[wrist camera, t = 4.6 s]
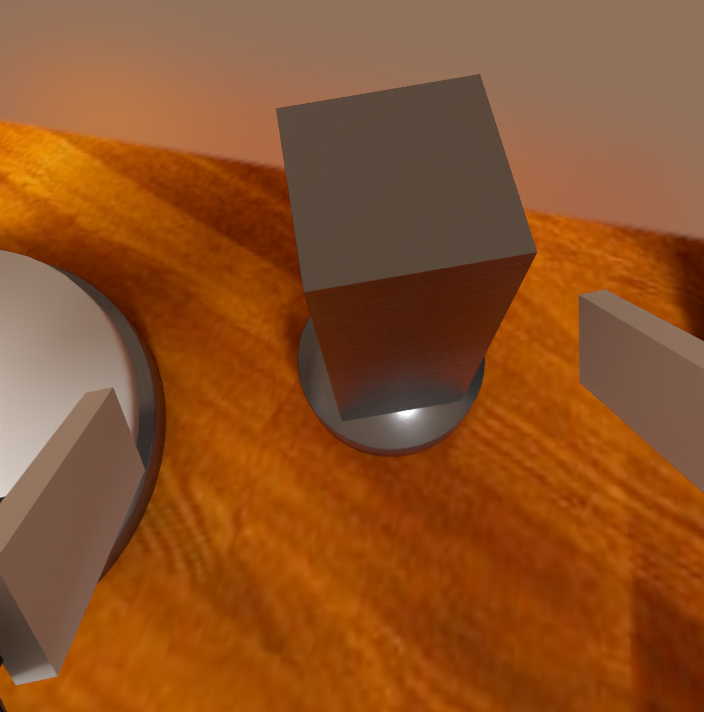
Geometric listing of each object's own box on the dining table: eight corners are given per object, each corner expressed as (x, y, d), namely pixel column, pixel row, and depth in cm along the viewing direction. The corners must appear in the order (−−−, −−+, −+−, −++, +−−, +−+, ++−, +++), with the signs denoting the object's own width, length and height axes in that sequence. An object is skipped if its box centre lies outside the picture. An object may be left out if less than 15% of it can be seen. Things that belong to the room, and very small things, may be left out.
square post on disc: (455, 279, 27) (524, 19, 14) (496, 439, 24) (630, 303, 11) (293, 307, 27) (209, 72, 14) (316, 471, 24) (240, 371, 11)
